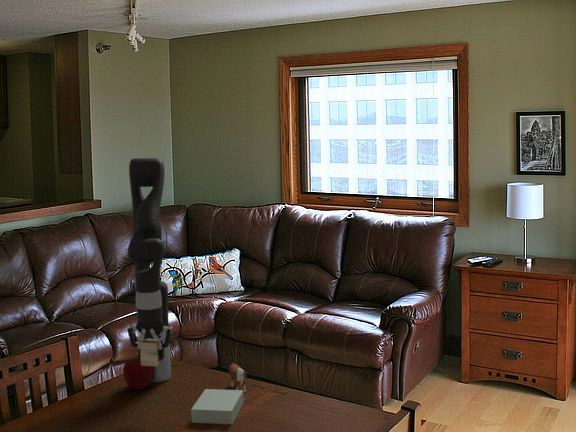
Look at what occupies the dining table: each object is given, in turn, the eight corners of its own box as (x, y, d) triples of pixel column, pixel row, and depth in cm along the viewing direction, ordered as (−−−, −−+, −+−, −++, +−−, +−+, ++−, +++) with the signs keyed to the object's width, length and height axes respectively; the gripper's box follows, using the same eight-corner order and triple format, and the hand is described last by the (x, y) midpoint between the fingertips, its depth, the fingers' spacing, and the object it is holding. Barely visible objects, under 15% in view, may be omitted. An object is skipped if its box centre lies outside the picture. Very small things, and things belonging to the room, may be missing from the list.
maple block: (146, 360, 224) (145, 337, 223) (162, 360, 223) (161, 338, 222) (141, 365, 219) (139, 342, 218) (157, 366, 218) (156, 343, 217)
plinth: (205, 401, 229) (205, 389, 228) (243, 402, 227) (243, 390, 226) (191, 422, 213) (191, 409, 212) (232, 424, 211) (231, 410, 211)
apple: (144, 395, 235) (143, 364, 234) (118, 392, 238) (116, 362, 237) (158, 384, 244) (157, 355, 243) (133, 382, 247) (131, 353, 246)
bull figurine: (236, 397, 231) (235, 372, 230) (228, 383, 244) (227, 359, 243) (249, 396, 232) (249, 371, 231) (240, 381, 245) (240, 358, 244)
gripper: (176, 302, 221) (178, 356, 223) (130, 301, 223) (133, 355, 226) (168, 309, 214) (170, 365, 216) (121, 308, 216) (124, 363, 218)
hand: (151, 359), depth 221 cm, fingers closed on maple block, 5 cm apart
